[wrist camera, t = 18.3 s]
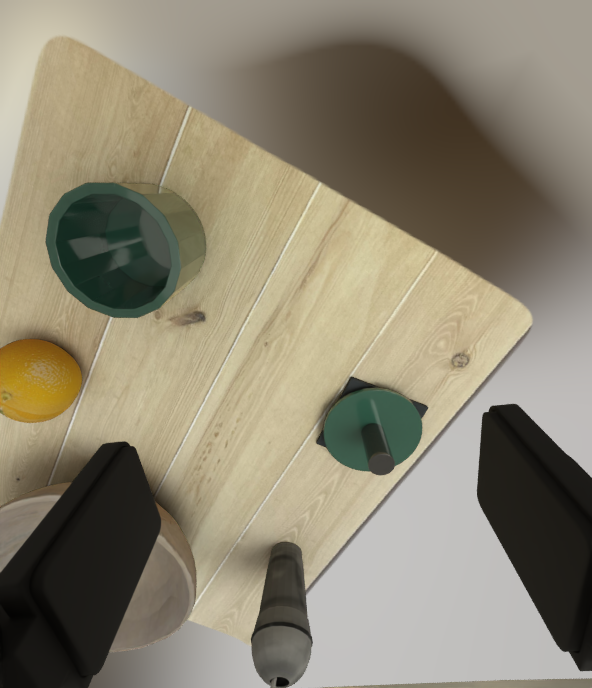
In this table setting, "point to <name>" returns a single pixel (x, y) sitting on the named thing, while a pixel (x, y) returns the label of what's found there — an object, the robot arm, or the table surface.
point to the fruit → (36, 380)
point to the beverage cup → (282, 620)
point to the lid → (372, 430)
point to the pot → (124, 246)
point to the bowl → (155, 582)
